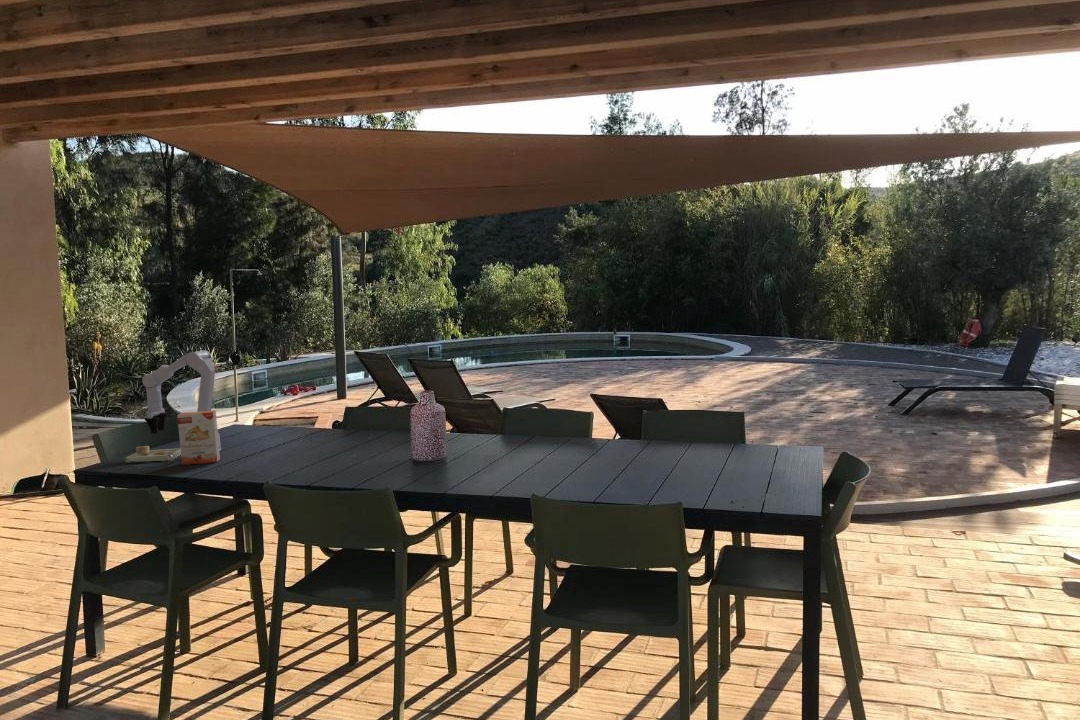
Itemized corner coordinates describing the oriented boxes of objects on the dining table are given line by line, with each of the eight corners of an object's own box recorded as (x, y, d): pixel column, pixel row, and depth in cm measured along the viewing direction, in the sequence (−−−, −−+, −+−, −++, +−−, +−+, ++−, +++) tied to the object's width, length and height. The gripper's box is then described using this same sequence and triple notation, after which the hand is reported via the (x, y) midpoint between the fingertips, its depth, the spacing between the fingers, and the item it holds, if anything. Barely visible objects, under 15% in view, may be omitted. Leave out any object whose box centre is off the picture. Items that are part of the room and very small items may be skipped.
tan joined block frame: (174, 454, 377) (173, 442, 377) (166, 458, 368) (165, 447, 368) (142, 456, 377) (141, 444, 376) (133, 460, 368) (132, 449, 367)
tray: (184, 453, 380) (183, 448, 379) (172, 460, 366) (171, 454, 366) (139, 456, 379) (139, 450, 379) (126, 463, 365) (125, 457, 365)
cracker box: (181, 465, 355) (176, 414, 353) (185, 462, 361) (180, 412, 359) (217, 462, 357) (212, 411, 355) (220, 459, 363) (215, 409, 361)
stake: (174, 462, 363) (173, 451, 362) (170, 464, 358) (169, 453, 358) (170, 462, 363) (168, 451, 362) (166, 464, 358) (164, 453, 358)
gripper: (151, 399, 389) (155, 429, 391) (138, 404, 375) (141, 435, 376) (168, 398, 390) (171, 428, 391) (155, 403, 375) (158, 434, 377)
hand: (157, 431), depth 384 cm, fingers open, 7 cm apart
